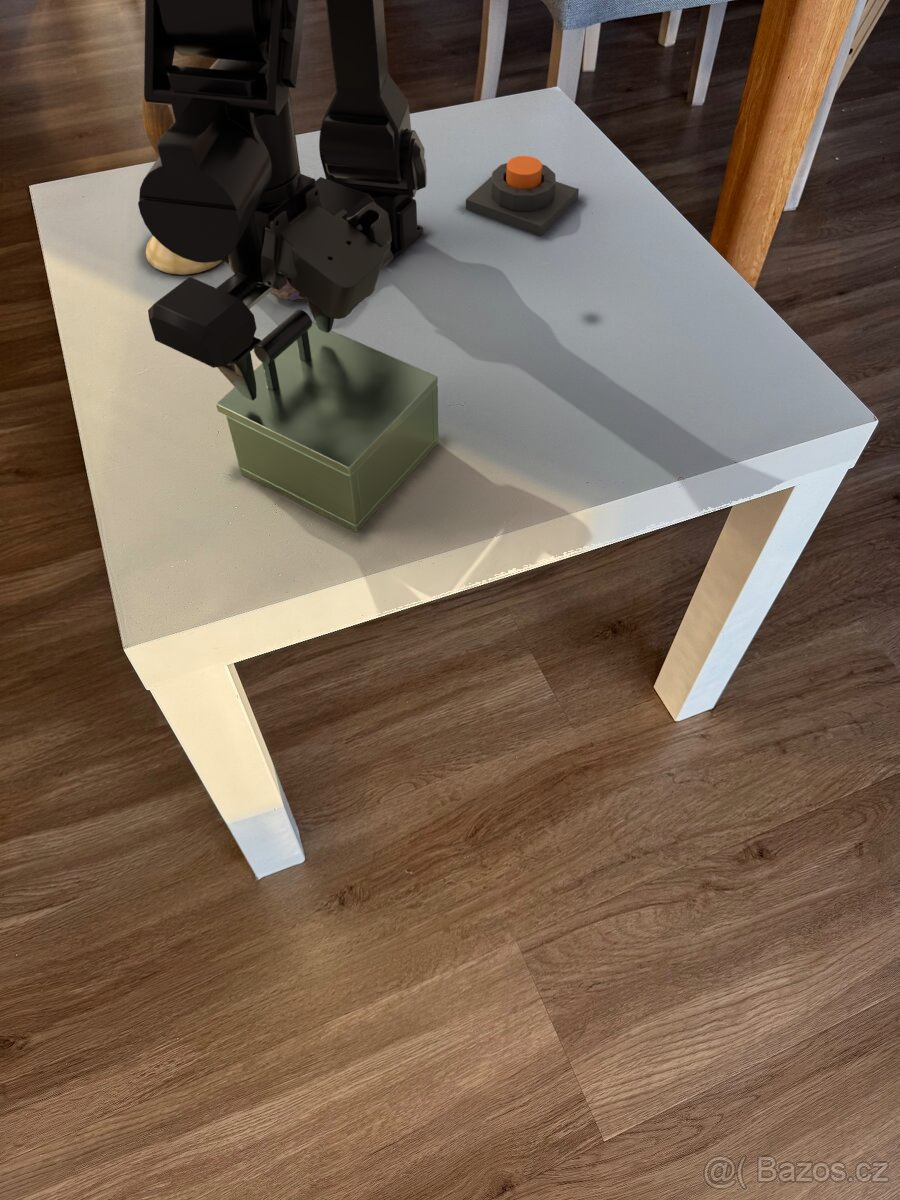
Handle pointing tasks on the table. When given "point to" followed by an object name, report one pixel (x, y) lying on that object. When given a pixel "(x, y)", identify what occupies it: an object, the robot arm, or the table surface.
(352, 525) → the green box
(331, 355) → the box lid
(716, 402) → the table surface
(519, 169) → the button
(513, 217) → the control block
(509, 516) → the table surface
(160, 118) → the hand bell
